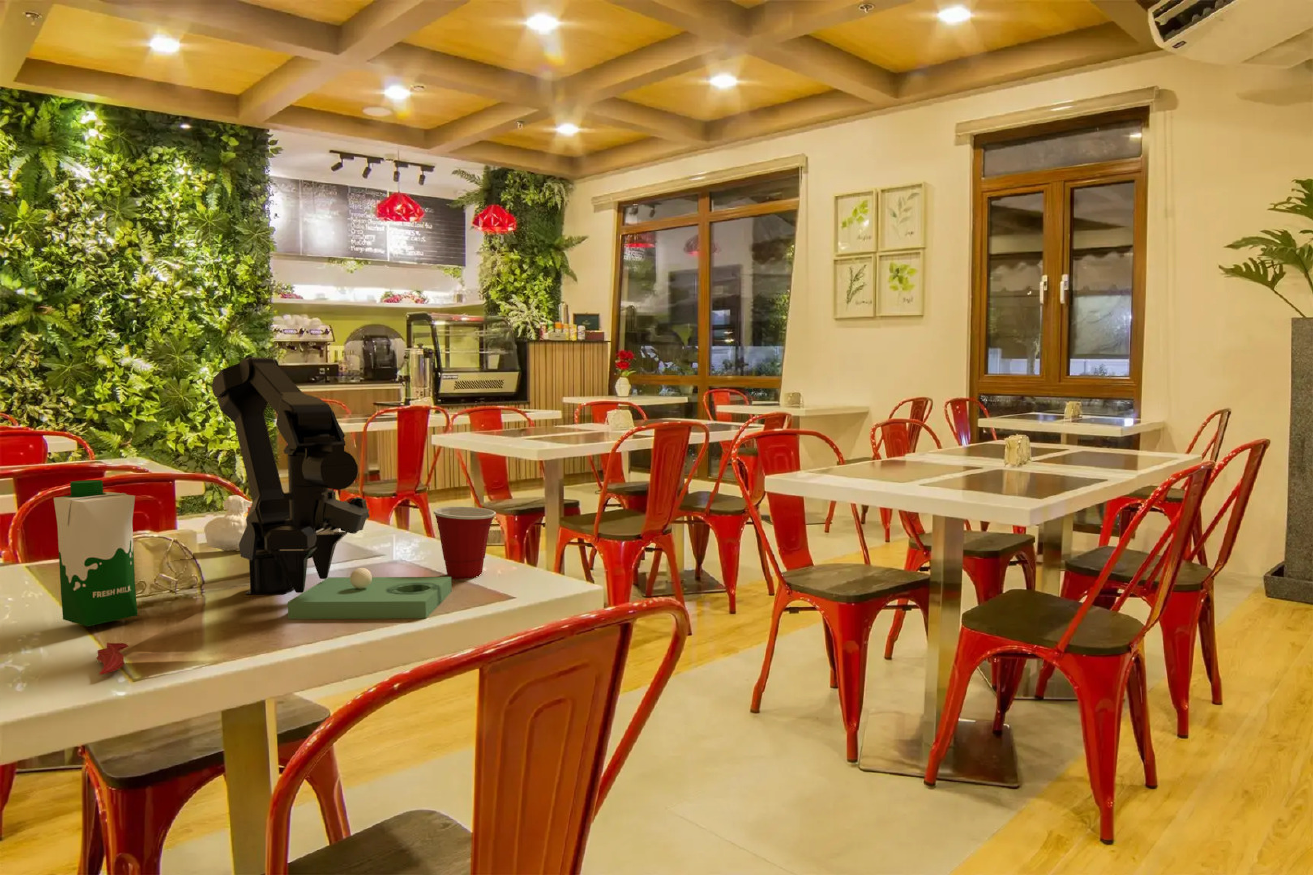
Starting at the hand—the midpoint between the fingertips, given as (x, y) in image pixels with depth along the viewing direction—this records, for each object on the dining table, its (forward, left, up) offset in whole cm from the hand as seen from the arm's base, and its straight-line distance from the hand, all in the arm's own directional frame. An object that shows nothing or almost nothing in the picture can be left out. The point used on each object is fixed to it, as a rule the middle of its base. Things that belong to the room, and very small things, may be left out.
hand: (312, 585), depth 137 cm
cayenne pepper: (-16, -25, -4) cm, 30 cm away
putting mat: (+9, 0, -3) cm, 10 cm away
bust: (-33, +45, -3) cm, 56 cm away
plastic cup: (+19, +19, -3) cm, 27 cm away
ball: (+7, 0, +1) cm, 8 cm away
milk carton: (-28, -7, -3) cm, 29 cm away
